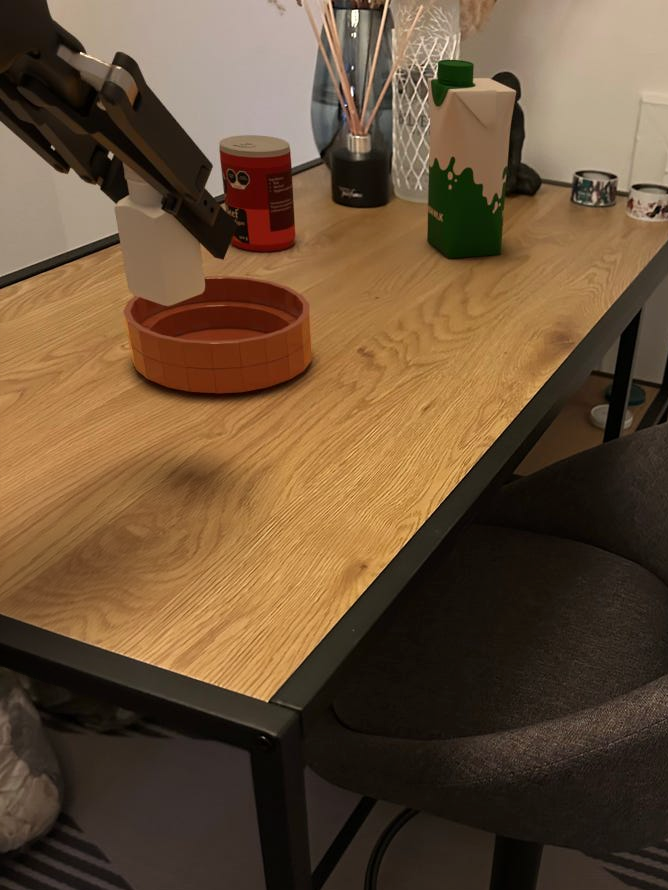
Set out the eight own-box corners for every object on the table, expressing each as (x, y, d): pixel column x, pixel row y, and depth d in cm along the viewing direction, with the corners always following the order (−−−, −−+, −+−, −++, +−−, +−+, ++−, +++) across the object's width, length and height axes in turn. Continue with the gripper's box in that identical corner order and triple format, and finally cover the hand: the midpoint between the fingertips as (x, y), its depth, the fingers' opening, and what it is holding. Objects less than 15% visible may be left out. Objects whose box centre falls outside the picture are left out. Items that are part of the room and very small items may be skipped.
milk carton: (417, 239, 119) (421, 55, 106) (482, 234, 122) (493, 55, 109) (444, 262, 113) (451, 70, 100) (511, 256, 116) (527, 69, 103)
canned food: (227, 233, 116) (216, 134, 109) (292, 231, 118) (286, 134, 111) (231, 253, 110) (220, 151, 103) (299, 251, 112) (293, 151, 105)
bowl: (94, 370, 84) (83, 316, 81) (209, 314, 96) (203, 264, 93) (243, 415, 80) (237, 359, 76) (344, 350, 91) (343, 298, 88)
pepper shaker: (125, 296, 65) (99, 145, 59) (168, 280, 68) (147, 135, 62) (168, 310, 64) (145, 157, 57) (209, 294, 66) (192, 146, 60)
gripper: (-231, 6, 46) (83, 257, 69) (35, 55, 41) (280, 309, 64) (-173, -130, 47) (121, 164, 69) (98, -98, 42) (320, 208, 64)
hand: (197, 233), depth 66 cm, fingers closed on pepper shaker, 4 cm apart
